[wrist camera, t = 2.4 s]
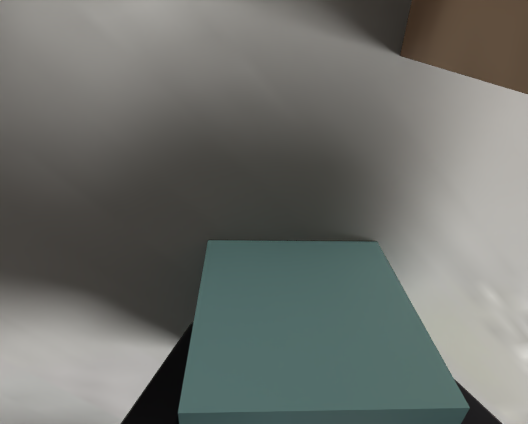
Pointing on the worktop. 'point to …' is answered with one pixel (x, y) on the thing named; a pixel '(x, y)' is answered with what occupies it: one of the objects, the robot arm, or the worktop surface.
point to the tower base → (471, 39)
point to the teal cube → (310, 340)
